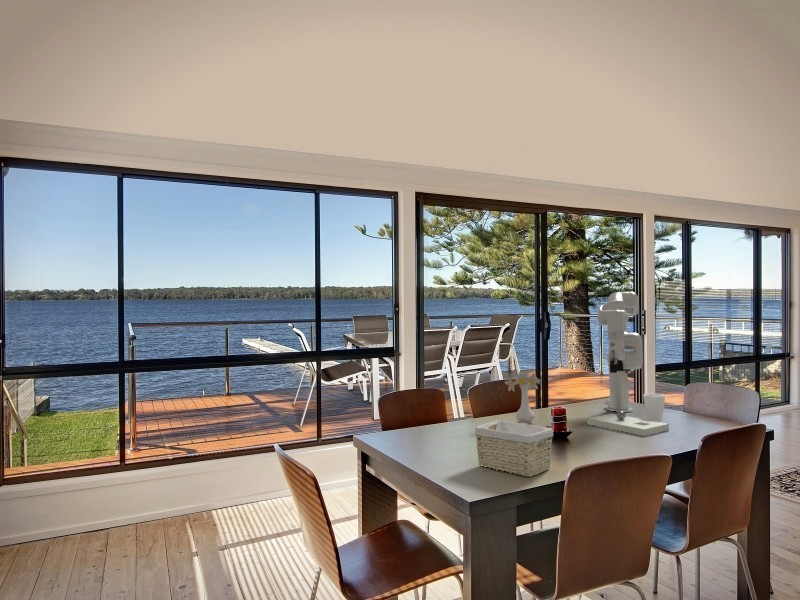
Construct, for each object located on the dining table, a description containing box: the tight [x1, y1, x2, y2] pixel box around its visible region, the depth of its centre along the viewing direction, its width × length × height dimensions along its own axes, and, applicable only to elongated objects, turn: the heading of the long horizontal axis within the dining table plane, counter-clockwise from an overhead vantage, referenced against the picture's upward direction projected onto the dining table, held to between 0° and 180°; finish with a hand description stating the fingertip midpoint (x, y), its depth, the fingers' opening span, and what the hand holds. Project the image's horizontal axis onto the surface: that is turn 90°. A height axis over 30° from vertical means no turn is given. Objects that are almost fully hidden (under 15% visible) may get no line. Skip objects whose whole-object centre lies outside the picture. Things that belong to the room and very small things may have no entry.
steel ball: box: [616, 411, 627, 420], centre depth 261 cm, size 4×4×4 cm
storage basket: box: [474, 419, 554, 478], centre depth 199 cm, size 24×16×15 cm
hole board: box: [586, 413, 670, 437], centre depth 258 cm, size 30×18×3 cm, turn 33°
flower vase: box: [504, 370, 541, 424], centre depth 272 cm, size 13×18×25 cm
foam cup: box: [643, 392, 666, 423], centre depth 268 cm, size 10×9×13 cm
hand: (616, 371), depth 267 cm, fingers open, 9 cm apart
